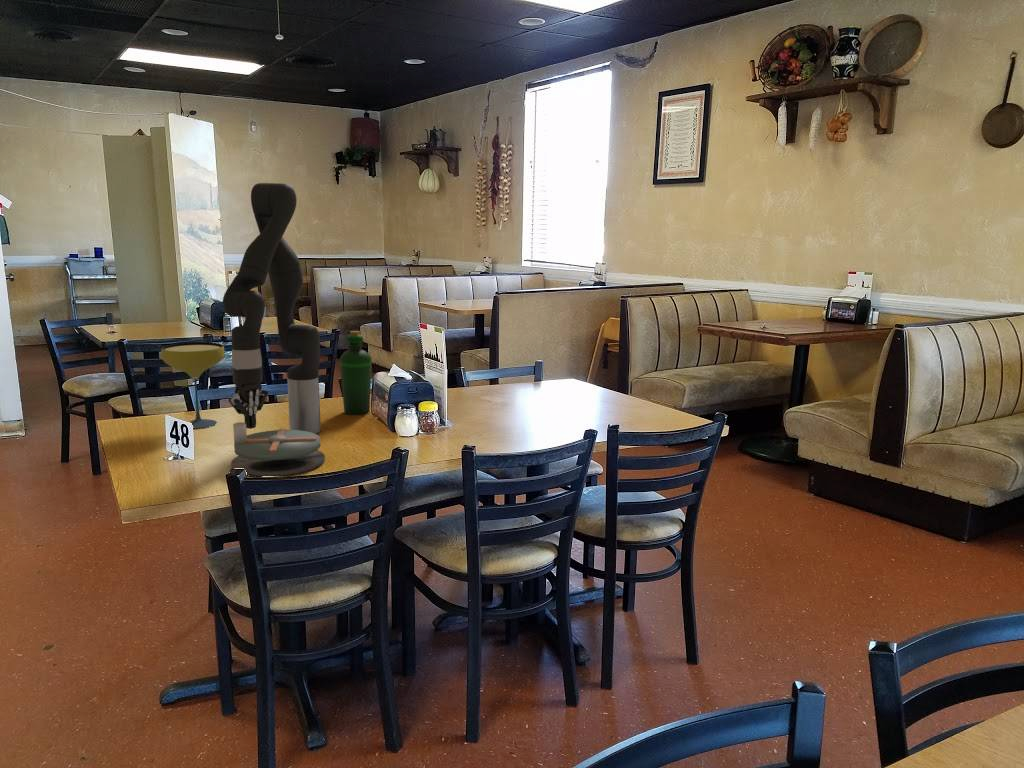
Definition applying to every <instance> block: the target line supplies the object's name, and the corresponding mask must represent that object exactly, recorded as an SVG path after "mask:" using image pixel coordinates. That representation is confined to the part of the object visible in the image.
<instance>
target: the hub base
mask: <svg viewBox="0 0 1024 768" xmlns="http://www.w3.org/2000/svg"><path fill="white" fill-rule="evenodd" d="M325 460H326V457H325V454H324V453H323V452H322V451H321V450H319V449H318V450H316V451H315V452H313V453H310V454H308V455H305V456H301V457H296V458H291V459H283V460H253V459H247V458H243V457H240V456H238V455H237V456H235V457H234V458H233V459H232V460H231V463H230V465H231V469H232V468H233V469H234V468H244V469H245V470H246V472H247V476H246V477H250V478H259V477H262V476H287V477H291V476H292V477H293V476H298V475H302V473H303V474H306V473H309V472H312V471H315V470H317V469H319V468H320V467H322V465H324V463H325V462H326V461H325ZM248 475H249V476H248Z"/></svg>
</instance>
